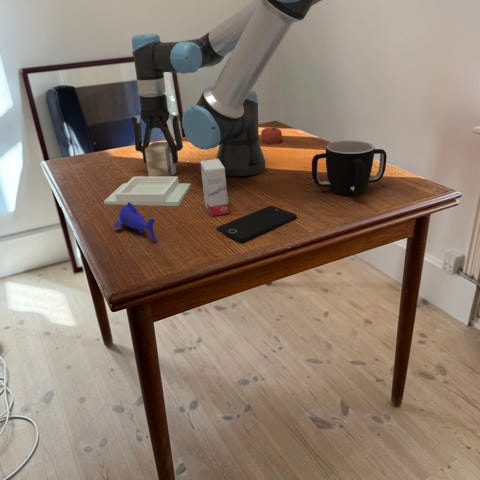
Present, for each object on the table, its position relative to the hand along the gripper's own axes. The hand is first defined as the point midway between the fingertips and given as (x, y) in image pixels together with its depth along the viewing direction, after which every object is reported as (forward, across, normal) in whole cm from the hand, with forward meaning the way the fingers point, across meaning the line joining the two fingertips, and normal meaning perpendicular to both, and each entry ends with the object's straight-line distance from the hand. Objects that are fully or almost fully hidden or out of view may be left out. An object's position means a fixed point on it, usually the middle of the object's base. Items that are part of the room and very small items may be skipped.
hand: (162, 173), depth 143 cm
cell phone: (+2, -32, +32) cm, 45 cm away
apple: (+2, -30, -33) cm, 45 cm away
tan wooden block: (+2, 0, 0) cm, 2 cm away
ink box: (+2, -21, +24) cm, 32 cm away
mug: (+2, -54, +10) cm, 55 cm away
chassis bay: (+1, -1, +16) cm, 16 cm away
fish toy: (+2, -6, +38) cm, 39 cm away
